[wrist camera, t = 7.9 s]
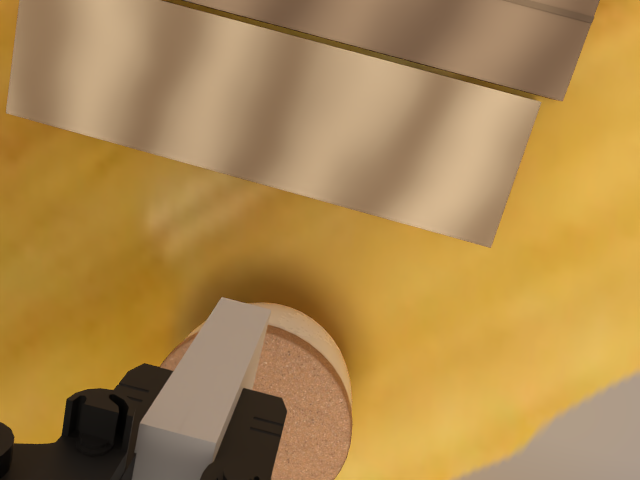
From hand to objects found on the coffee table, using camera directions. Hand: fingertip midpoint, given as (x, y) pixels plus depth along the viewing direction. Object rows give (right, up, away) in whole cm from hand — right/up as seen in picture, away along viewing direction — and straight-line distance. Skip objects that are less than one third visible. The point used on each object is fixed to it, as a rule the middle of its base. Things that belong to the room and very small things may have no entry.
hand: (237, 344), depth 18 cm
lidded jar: (0, -4, +21) cm, 21 cm away
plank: (-1, +10, +16) cm, 19 cm away
